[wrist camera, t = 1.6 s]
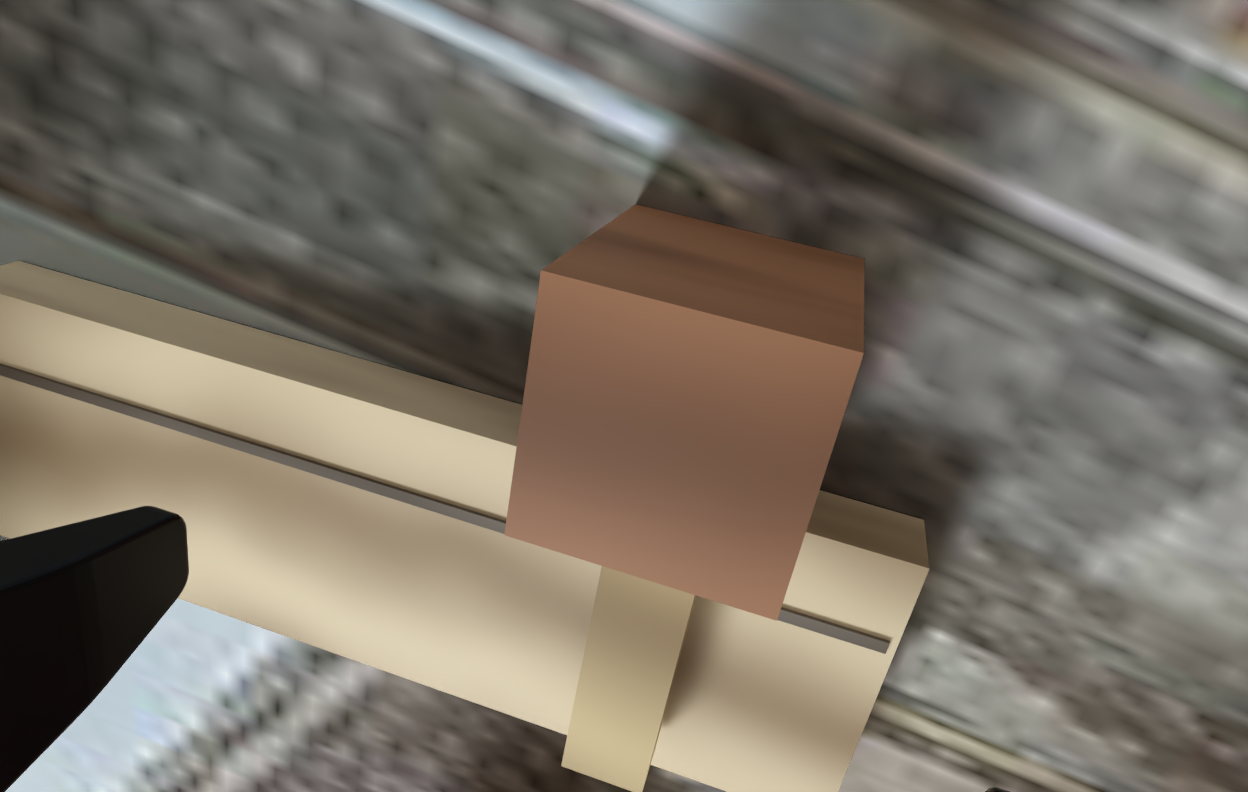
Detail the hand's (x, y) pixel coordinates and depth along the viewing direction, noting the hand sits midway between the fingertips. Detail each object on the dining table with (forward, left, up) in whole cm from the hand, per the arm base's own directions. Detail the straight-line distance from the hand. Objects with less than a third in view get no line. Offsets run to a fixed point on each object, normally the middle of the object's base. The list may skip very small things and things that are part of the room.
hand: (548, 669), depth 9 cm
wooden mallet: (-4, 0, -11) cm, 12 cm away
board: (-7, +7, -11) cm, 15 cm away
